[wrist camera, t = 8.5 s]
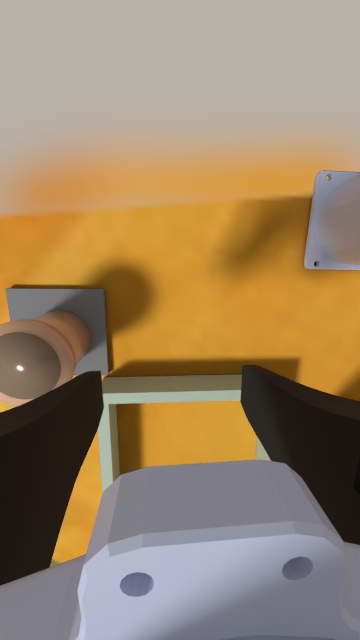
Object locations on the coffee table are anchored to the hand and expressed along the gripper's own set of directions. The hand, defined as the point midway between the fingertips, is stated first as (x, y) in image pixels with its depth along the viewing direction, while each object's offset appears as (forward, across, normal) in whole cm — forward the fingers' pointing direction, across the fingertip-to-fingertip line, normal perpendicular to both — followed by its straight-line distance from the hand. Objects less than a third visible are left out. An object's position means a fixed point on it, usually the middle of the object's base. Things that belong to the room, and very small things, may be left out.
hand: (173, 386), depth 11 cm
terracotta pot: (+10, +10, 0) cm, 14 cm away
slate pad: (+10, +10, 0) cm, 14 cm away
